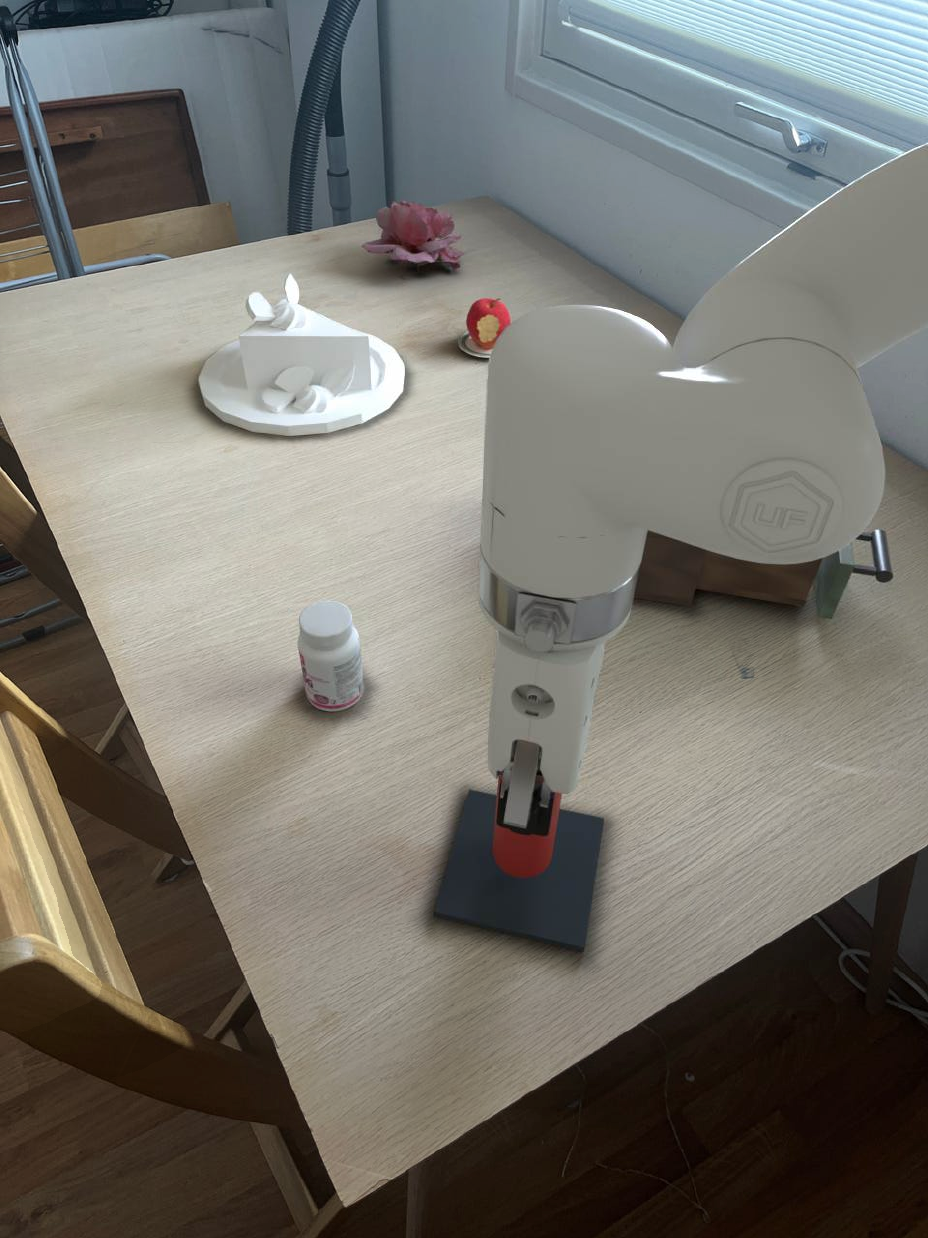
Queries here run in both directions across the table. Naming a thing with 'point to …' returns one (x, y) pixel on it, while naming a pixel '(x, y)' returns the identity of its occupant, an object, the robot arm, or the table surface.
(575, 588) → the robot arm
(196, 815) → the table surface
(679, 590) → the cabinet
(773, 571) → the drawer
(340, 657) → the pill bottle
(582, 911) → the coaster
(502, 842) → the red cylinder
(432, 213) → the flower
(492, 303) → the apple
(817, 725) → the table surface
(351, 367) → the dish
